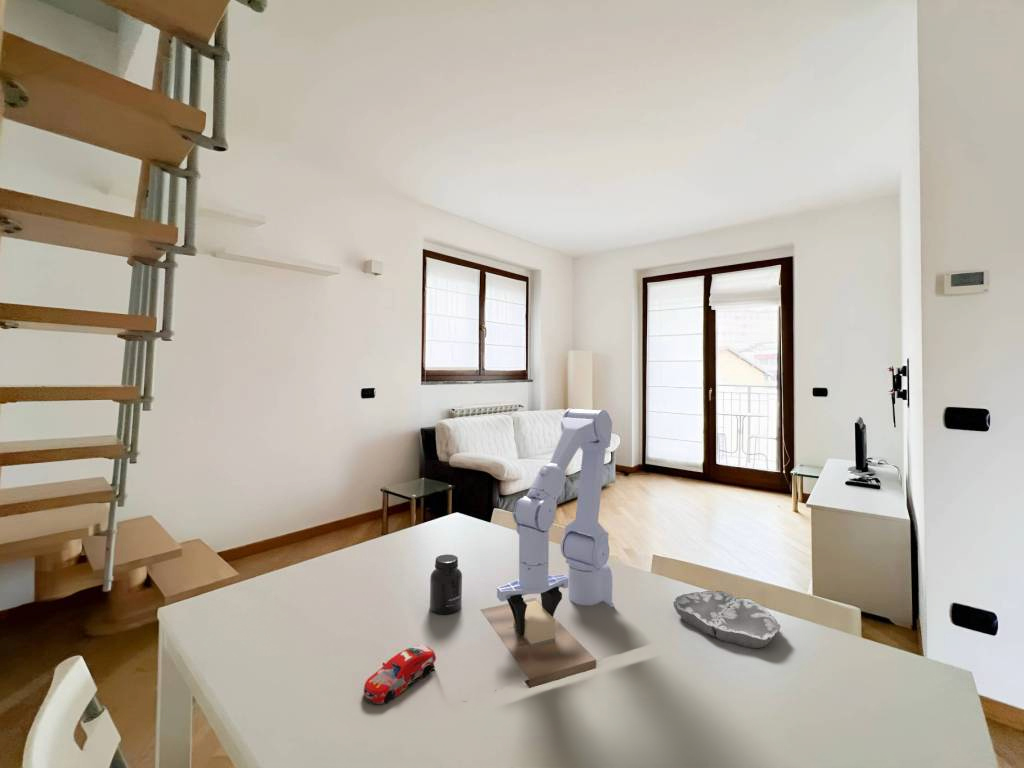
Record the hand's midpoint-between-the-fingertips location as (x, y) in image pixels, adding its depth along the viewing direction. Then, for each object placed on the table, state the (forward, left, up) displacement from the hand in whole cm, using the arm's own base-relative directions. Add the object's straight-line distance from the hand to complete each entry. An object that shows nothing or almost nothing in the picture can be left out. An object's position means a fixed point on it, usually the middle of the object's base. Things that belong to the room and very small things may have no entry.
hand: (533, 629), depth 85 cm
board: (0, 0, -2) cm, 2 cm away
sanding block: (0, 0, 0) cm, 1 cm away
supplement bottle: (+13, -16, -2) cm, 21 cm away
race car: (+26, +2, -3) cm, 26 cm away
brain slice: (-40, +10, -3) cm, 41 cm away
